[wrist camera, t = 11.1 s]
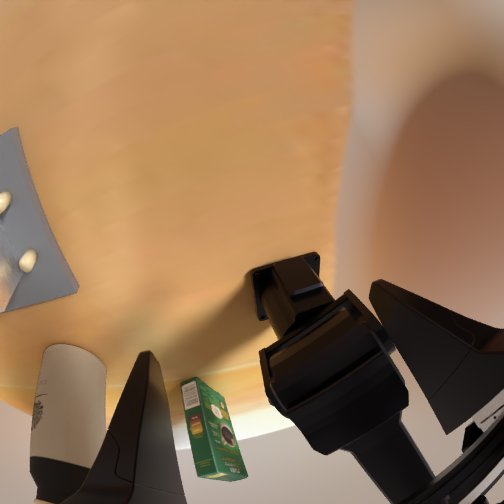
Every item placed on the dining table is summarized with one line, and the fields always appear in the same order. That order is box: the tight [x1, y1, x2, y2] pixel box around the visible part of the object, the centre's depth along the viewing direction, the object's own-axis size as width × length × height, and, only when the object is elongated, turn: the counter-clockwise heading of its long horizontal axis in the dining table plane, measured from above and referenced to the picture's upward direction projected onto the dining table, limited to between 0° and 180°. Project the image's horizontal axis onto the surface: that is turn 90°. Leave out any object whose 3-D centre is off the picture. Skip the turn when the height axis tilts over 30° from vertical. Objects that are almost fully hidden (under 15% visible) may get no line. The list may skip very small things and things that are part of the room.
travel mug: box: [30, 344, 106, 504], centre depth 17 cm, size 8×8×18 cm
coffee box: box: [180, 377, 248, 481], centre depth 27 cm, size 8×3×13 cm, turn 23°
